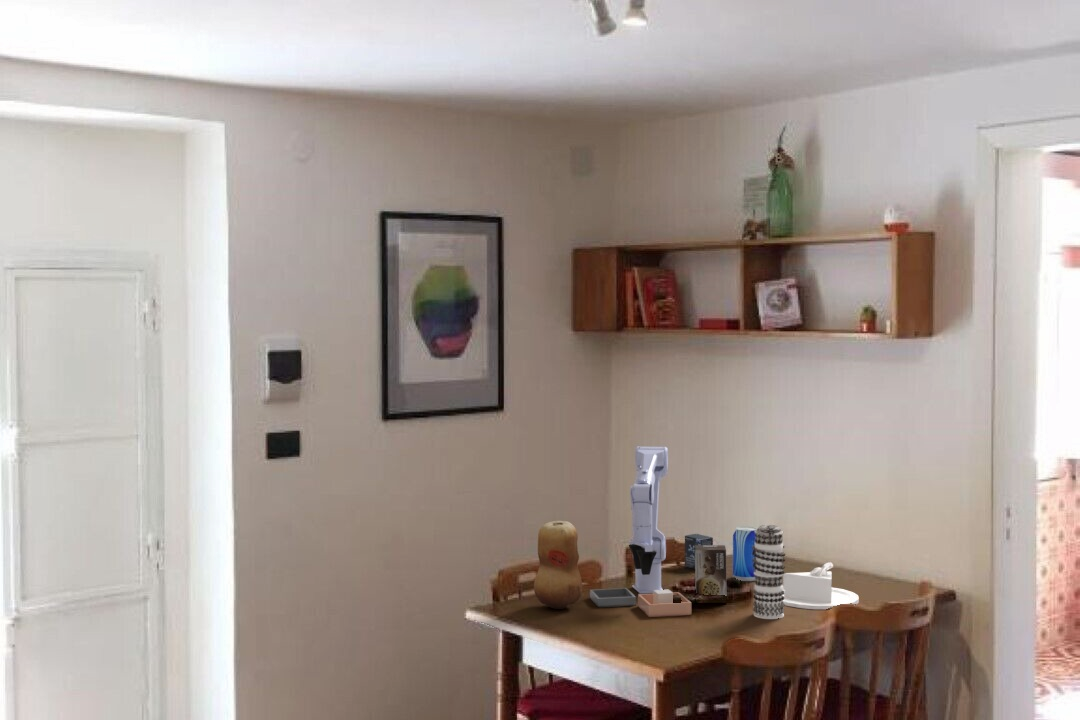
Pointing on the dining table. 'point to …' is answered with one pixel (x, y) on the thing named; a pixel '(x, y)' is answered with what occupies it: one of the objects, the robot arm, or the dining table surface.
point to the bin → (663, 606)
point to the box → (690, 547)
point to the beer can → (743, 553)
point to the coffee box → (710, 569)
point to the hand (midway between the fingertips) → (642, 571)
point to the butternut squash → (558, 565)
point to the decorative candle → (768, 572)
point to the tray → (612, 597)
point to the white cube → (662, 596)
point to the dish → (815, 590)
